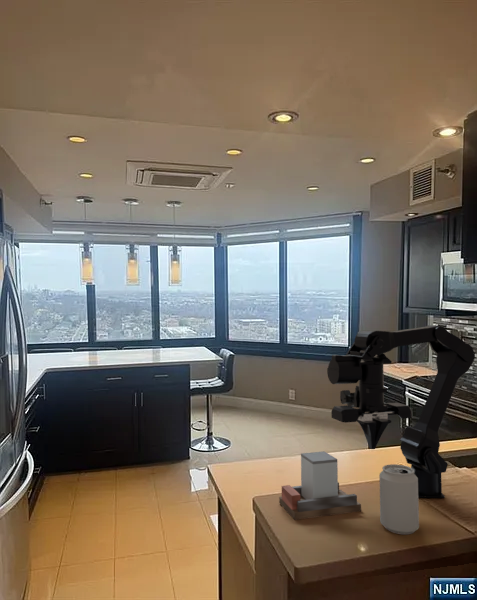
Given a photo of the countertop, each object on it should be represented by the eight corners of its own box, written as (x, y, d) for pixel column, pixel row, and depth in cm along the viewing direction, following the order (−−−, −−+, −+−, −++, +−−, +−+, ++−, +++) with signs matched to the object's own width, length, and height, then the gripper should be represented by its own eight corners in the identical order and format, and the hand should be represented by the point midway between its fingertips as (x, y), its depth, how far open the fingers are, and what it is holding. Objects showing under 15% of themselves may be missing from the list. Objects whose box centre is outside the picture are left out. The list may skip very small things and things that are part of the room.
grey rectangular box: (324, 492, 104) (324, 451, 105) (338, 503, 98) (337, 459, 98) (301, 495, 102) (300, 453, 103) (313, 506, 96) (312, 461, 97)
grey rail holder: (340, 495, 107) (340, 476, 107) (361, 510, 98) (360, 490, 98) (279, 503, 102) (279, 483, 102) (294, 519, 94) (294, 498, 94)
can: (422, 538, 86) (421, 475, 86) (382, 534, 87) (381, 472, 88) (415, 521, 93) (413, 463, 94) (378, 518, 94) (377, 461, 95)
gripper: (384, 377, 116) (385, 437, 115) (320, 380, 111) (321, 443, 110) (412, 382, 105) (413, 449, 104) (343, 386, 100) (343, 455, 99)
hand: (372, 448), depth 105 cm, fingers closed
